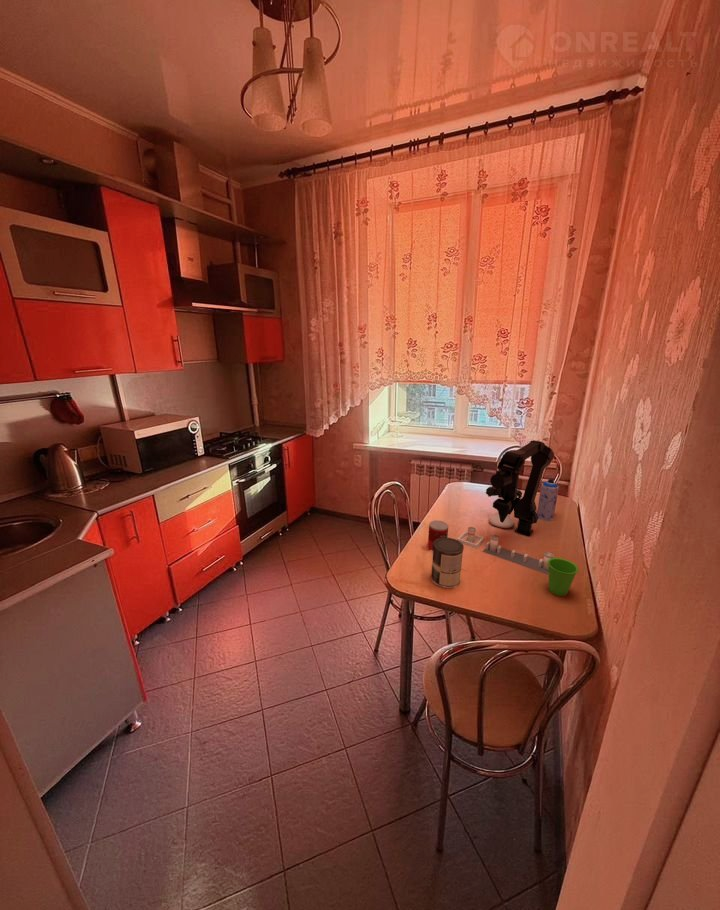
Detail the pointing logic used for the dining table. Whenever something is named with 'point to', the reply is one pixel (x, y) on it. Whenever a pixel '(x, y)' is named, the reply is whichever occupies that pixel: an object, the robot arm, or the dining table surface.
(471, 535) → the cylinder
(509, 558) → the fuse block
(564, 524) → the dining table surface
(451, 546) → the coffee can
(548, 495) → the aerosol can
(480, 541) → the tray
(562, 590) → the cup
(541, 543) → the dining table surface
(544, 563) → the cylinder
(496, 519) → the flower in vase
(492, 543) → the cylinder
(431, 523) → the canned food
